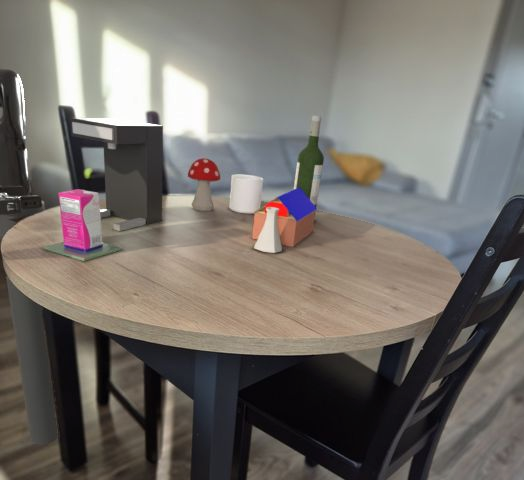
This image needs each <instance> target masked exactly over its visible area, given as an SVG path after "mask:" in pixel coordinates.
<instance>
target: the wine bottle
mask: <svg viewBox="0 0 524 480" xmlns="http://www.w3.org/2000/svg"><path fill="white" fill-rule="evenodd" d="M321 122H322V116H321V115H314V114H313V115H312V117H311V123H310V130H309V135H308V141H307V145H306V146H305V147H303V148H302V149H301V150H300V151H299V153H298V156H297V161H296V169H295V177H294V184H293V190H295V189H297V188H299V187H300V188H301V190H302V191H303V192H304V193H305V195H306V196H307V197H308V198H309V199H310V201H311V202H312V203H313V204H314V206H315V207H316V208H317V206H318V200H319V199H318V198H319V192H320V186H321V180H322V173H323V165H324V161H325V160H324V159H325V157H324V156H325V155H324V154H323V152H322V150H321V149H320V147H319V139H320V130H321ZM316 211H317V210H316ZM316 211H315V213H317V212H316ZM315 218H316V216H315V217H314V220H316V219H315Z"/></svg>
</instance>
